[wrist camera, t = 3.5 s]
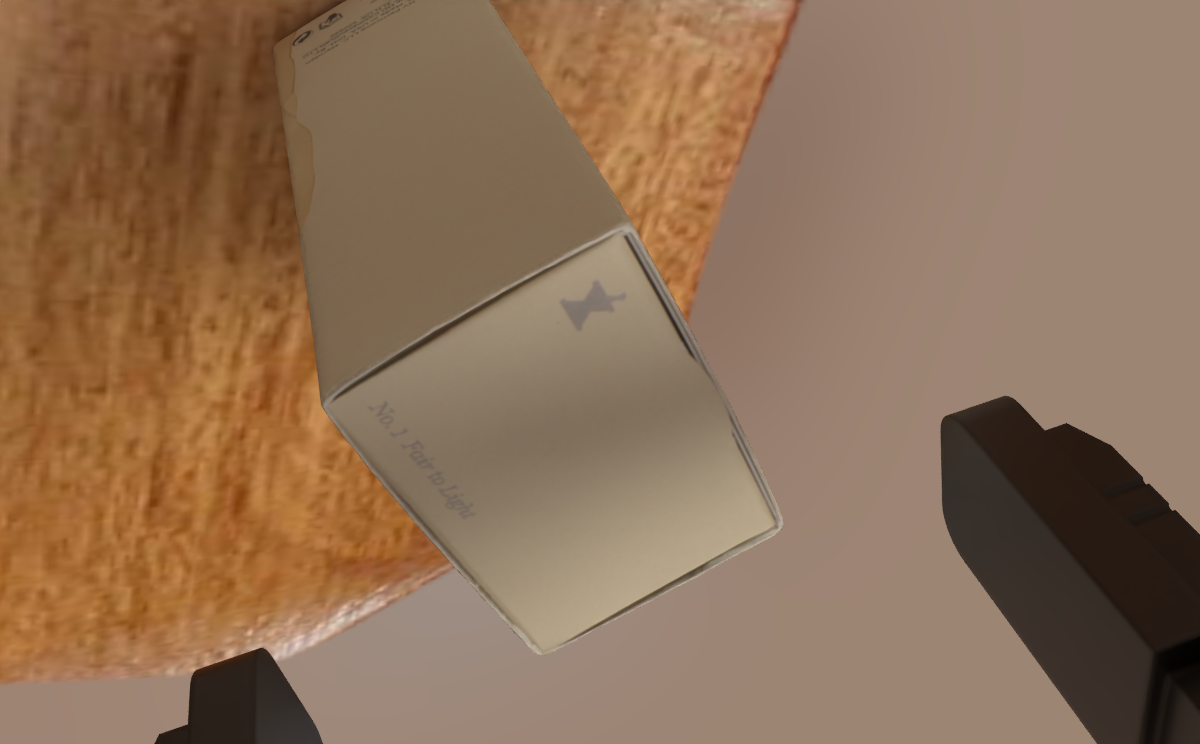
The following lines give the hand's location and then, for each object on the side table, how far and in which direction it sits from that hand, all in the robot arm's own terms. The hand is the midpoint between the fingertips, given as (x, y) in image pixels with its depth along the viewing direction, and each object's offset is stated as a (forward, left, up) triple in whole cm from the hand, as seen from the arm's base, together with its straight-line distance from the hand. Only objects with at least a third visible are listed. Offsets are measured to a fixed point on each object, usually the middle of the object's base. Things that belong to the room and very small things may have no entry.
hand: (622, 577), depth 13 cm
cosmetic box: (0, 0, -14) cm, 14 cm away
